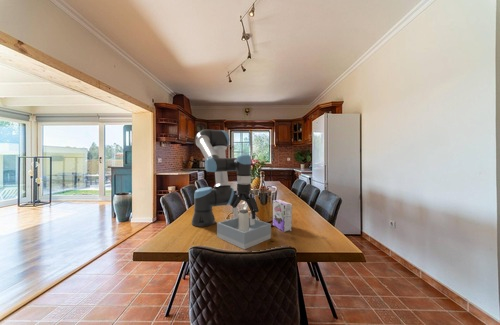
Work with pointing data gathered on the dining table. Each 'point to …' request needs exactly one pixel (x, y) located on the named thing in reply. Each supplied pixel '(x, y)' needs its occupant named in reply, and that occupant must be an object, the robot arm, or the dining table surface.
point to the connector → (244, 220)
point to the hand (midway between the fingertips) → (243, 221)
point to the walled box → (243, 233)
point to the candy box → (282, 215)
